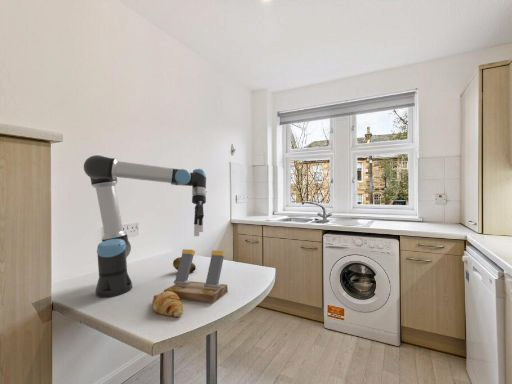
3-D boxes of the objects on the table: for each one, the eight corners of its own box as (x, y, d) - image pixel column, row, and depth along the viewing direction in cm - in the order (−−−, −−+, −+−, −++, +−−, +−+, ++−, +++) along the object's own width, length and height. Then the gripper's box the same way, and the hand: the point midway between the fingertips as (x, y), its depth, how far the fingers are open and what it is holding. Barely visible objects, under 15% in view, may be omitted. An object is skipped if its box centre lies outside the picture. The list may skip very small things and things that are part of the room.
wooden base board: (182, 286, 123) (182, 279, 123) (227, 291, 114) (227, 284, 114) (164, 297, 112) (164, 289, 112) (213, 303, 103) (212, 294, 103)
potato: (185, 276, 139) (184, 261, 139) (171, 272, 147) (170, 258, 147) (197, 271, 146) (196, 257, 146) (183, 268, 153) (182, 255, 153)
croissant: (188, 325, 94) (196, 302, 97) (164, 321, 88) (173, 297, 90) (162, 307, 109) (169, 287, 112) (139, 303, 103) (148, 283, 105)
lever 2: (206, 287, 112) (213, 252, 119) (219, 288, 109) (226, 252, 116) (203, 286, 110) (211, 250, 117) (216, 287, 107) (223, 250, 114)
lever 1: (176, 284, 118) (184, 250, 125) (187, 285, 115) (196, 251, 122) (172, 283, 116) (181, 249, 123) (184, 284, 113) (193, 249, 120)
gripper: (209, 189, 137) (209, 229, 130) (202, 202, 159) (201, 237, 152) (194, 188, 134) (193, 229, 128) (189, 202, 157) (188, 237, 150)
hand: (198, 234), depth 140 cm, fingers open, 13 cm apart
